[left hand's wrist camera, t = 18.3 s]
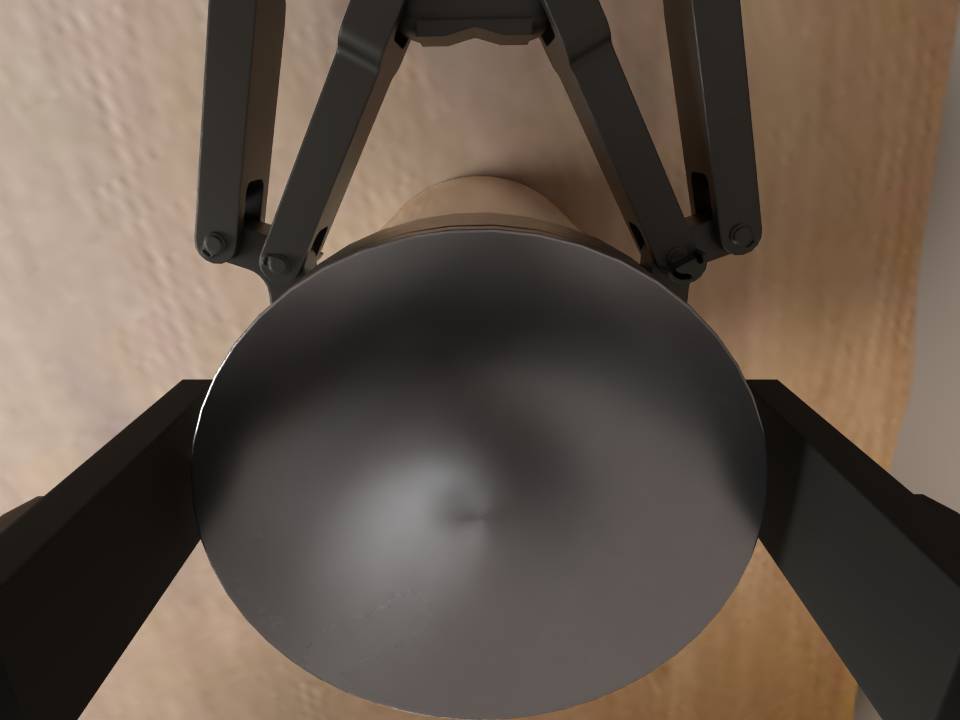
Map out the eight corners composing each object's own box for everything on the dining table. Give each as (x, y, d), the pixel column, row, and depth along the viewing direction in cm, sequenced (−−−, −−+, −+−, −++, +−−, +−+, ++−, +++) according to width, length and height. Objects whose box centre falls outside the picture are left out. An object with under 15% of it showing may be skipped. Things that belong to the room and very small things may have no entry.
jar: (372, 166, 24) (207, 223, 9) (603, 184, 24) (788, 267, 10) (370, 380, 27) (246, 663, 13) (572, 394, 27) (675, 687, 13)
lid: (788, 545, 13) (837, 611, 11) (393, 699, 15) (381, 778, 13) (609, 103, 10) (637, 96, 8) (128, 364, 11) (63, 408, 10)
